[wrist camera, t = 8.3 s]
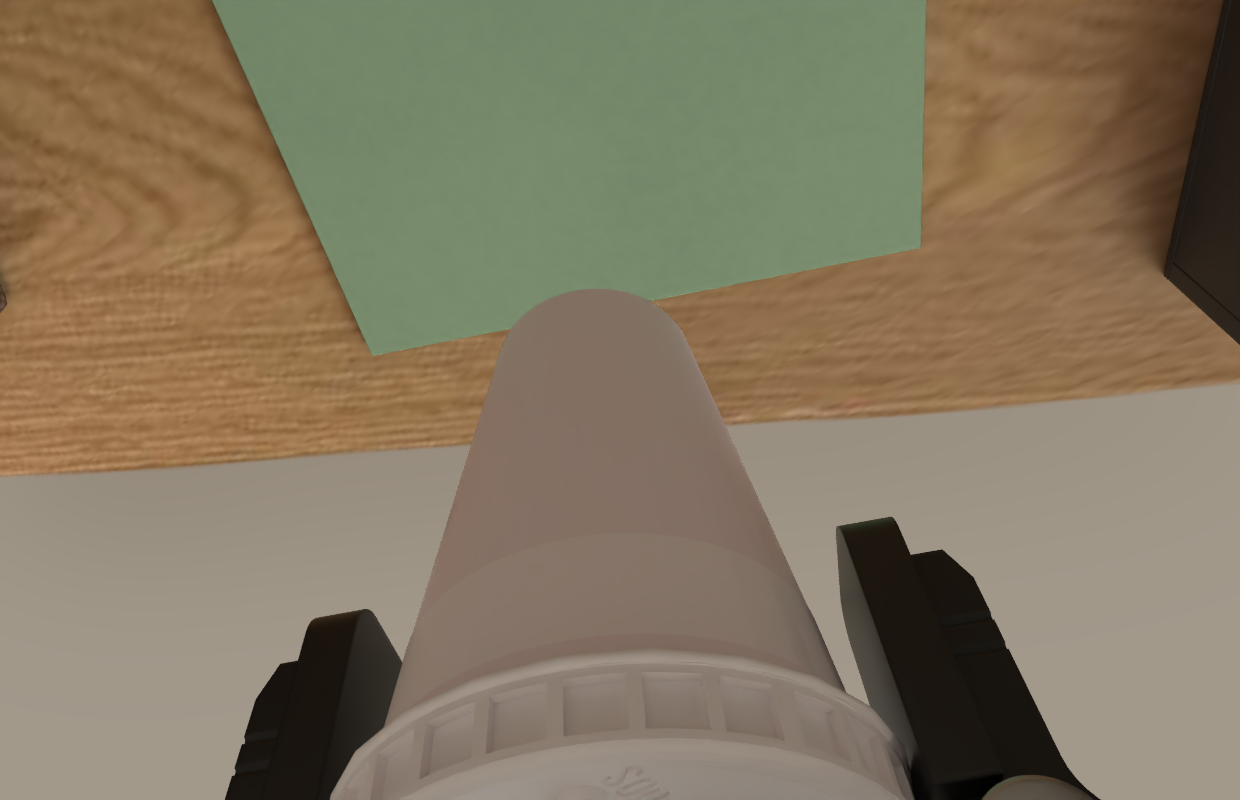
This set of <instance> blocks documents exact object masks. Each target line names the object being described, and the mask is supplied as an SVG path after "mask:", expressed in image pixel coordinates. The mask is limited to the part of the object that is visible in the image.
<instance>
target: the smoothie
mask: <svg viewBox="0 0 1240 800" xmlns="http://www.w3.org/2000/svg"><path fill="white" fill-rule="evenodd" d="M330 800H915V798H914V795H913V792H912V776H911V771H910V767H909V762H908V758H907V754H906V750H905V746H904V745H903V743H902V742H901V741H900V740H899V739H898V738H897V736H896V735H895V734H894V733H893V732H892V731H891V729H890V728H889V727H888V726H887V725H886V724H885V722H884V721H883V720H882V719H881V718H880V717H879V715H878V714H877V713H876V712H875V711H874V710H873V708H872V707H870V706H869V705H867V704H865V703H863V702H862V701H860V700H858V699H856V698H854V697H853V696H851V695H849V694H848V693H846V691H845V689H844V686H843V684H842V682H841V679H840V677H839V675H838V673H837V670H836V668H835V665H834V663H833V661H832V659H831V656H830V654H829V652H828V649H827V647H826V645H825V642H824V640H823V638H822V635H821V633H820V631H819V628H818V626H817V624H816V621H815V619H814V617H813V615H812V613H811V611H810V610H809V608H808V606H807V604H806V602H805V600H804V598H803V595H802V593H801V591H800V589H799V587H798V584H797V582H796V580H795V578H794V576H793V573H792V571H791V569H790V567H789V565H788V562H787V560H786V558H785V556H784V554H783V552H782V549H781V547H780V545H779V543H778V541H777V538H776V536H775V534H774V532H773V529H772V527H771V525H770V523H769V521H768V518H767V516H766V514H765V512H764V510H763V507H762V505H761V503H760V501H759V499H758V496H757V494H756V492H755V490H754V488H753V485H752V483H751V481H750V479H749V477H748V475H747V472H746V470H745V468H744V466H743V463H742V462H741V459H740V457H739V455H738V452H737V450H736V448H735V446H734V444H733V441H732V439H731V437H730V435H729V433H728V430H727V428H726V426H725V424H724V422H723V419H722V417H721V415H720V413H719V411H718V408H717V406H716V404H715V402H714V400H713V397H712V395H711V393H710V391H709V389H708V386H707V384H706V382H705V380H704V378H703V375H702V373H701V371H700V369H699V367H698V364H697V362H696V360H695V358H694V356H693V353H692V351H691V349H690V347H689V345H688V342H687V340H686V338H685V336H684V334H683V332H682V331H681V329H680V328H679V326H678V325H677V324H676V322H675V321H674V320H673V319H672V318H671V317H670V316H669V315H668V314H667V313H666V312H665V311H663V310H662V309H661V308H660V307H658V306H656V305H655V304H653V303H652V302H650V301H648V300H646V299H644V298H642V297H639V296H636V295H634V294H630V293H627V292H623V291H618V290H612V289H582V290H576V291H571V292H567V293H563V294H560V295H557V296H554V297H552V298H550V299H548V300H545V301H544V302H542V303H540V304H538V305H537V306H535V307H534V308H532V309H531V310H529V311H528V312H527V313H526V314H525V315H523V316H522V317H521V318H520V319H519V320H518V321H517V322H516V324H515V325H514V326H513V327H512V329H511V330H510V332H509V333H508V335H507V336H506V338H505V341H504V343H503V345H502V348H501V351H500V354H499V357H498V360H497V363H496V367H495V370H494V373H493V376H492V380H491V383H490V386H489V389H488V392H487V396H486V399H485V402H484V405H483V409H482V412H481V415H480V418H479V421H478V425H477V428H476V431H475V434H474V437H473V441H472V444H471V447H470V451H469V454H468V457H467V460H466V463H465V466H464V470H463V473H462V476H461V480H460V483H459V486H458V489H457V492H456V496H455V499H454V502H453V505H452V509H451V511H450V515H449V518H448V521H447V525H446V528H445V531H444V534H443V537H442V540H441V544H440V547H439V550H438V553H437V557H436V560H435V563H434V566H433V570H432V573H431V576H430V579H429V582H428V586H427V589H426V592H425V595H424V599H423V602H422V605H421V608H420V611H419V614H418V618H417V621H416V624H415V627H414V631H413V634H412V636H411V638H410V641H409V644H408V646H407V649H406V653H405V656H404V660H403V663H402V666H401V670H400V673H399V677H398V680H397V684H396V687H395V691H394V694H393V697H392V701H391V704H390V708H389V711H388V715H387V718H386V722H385V725H384V728H383V729H381V730H380V731H379V732H378V733H377V734H375V735H374V736H373V737H372V738H371V739H369V740H368V741H367V742H366V743H365V744H363V745H362V746H361V747H360V748H359V749H357V750H356V751H355V753H354V755H353V756H352V758H351V760H350V762H349V763H348V765H347V767H346V769H345V770H344V772H343V774H342V776H341V778H340V779H339V781H338V783H337V785H336V786H335V788H334V790H333V792H332V793H331V795H330Z"/></svg>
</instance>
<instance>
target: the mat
mask: <svg viewBox="0 0 1240 800" xmlns="http://www.w3.org/2000/svg"><path fill="white" fill-rule="evenodd" d="M212 2H213V4H214V7H215V9H216V11H217V13H218V16H219V18H220V20H221V22H222V24H223V27H224V29H225V31H226V33H227V35H228V38H229V40H230V42H231V44H232V47H233V49H234V51H235V53H236V55H237V58H238V60H239V62H240V64H241V67H242V69H243V71H244V73H245V75H246V78H247V80H248V82H249V84H250V87H251V89H252V91H253V93H254V95H255V98H256V100H257V102H258V104H259V107H260V109H261V111H262V113H263V115H264V118H265V120H266V122H267V124H268V126H269V129H270V131H271V133H272V135H273V138H274V140H275V142H276V144H277V146H278V149H279V151H280V153H281V155H282V158H283V160H284V162H285V164H286V166H287V169H288V171H289V173H290V175H291V178H292V180H293V182H294V184H295V186H296V189H297V191H298V193H299V195H300V197H301V200H302V202H303V204H304V206H305V209H306V211H307V213H308V215H309V217H310V220H311V222H312V224H313V226H314V229H315V231H316V233H317V235H318V237H319V240H320V242H321V244H322V246H323V249H324V251H325V253H326V255H327V257H328V260H329V262H330V264H331V266H332V269H333V271H334V273H335V275H336V277H337V280H338V282H339V284H340V286H341V288H342V291H343V293H344V295H345V297H346V300H347V302H348V304H349V306H350V308H351V311H352V313H353V315H354V317H355V320H356V322H357V324H358V326H359V328H360V331H361V333H362V335H363V337H364V340H365V342H366V344H367V346H368V348H369V351H370V353H371V355H372V356H374V355H379V354H384V353H389V352H395V351H400V350H405V349H410V348H415V347H420V346H425V345H430V344H435V343H440V342H445V341H450V340H455V339H460V338H466V337H471V336H476V335H481V334H486V333H491V332H496V331H501V330H506V329H511V328H512V327H513V326H514V325H515V324H516V322H517V321H518V320H519V319H520V318H521V317H522V316H523V315H525V314H526V313H527V312H528V311H529V310H531V309H532V308H534V307H535V306H537V305H538V304H540V303H542V302H544V301H545V300H548V299H550V298H552V297H554V296H557V295H560V294H563V293H567V292H571V291H576V290H582V289H612V290H618V291H623V292H627V293H630V294H634V295H636V296H639V297H642V298H644V299H646V300H648V301H653V300H658V299H663V298H668V297H673V296H679V295H684V294H689V293H694V292H699V291H704V290H709V289H714V288H719V287H724V286H729V285H734V284H739V283H744V282H750V281H755V280H760V279H765V278H770V277H775V276H780V275H785V274H790V273H795V272H800V271H805V270H810V269H815V268H821V267H826V266H831V265H836V264H841V263H846V262H851V261H856V260H861V259H866V258H871V257H876V256H881V255H886V254H892V253H897V252H902V251H907V250H912V249H917V248H920V247H921V209H922V165H923V121H924V77H925V33H926V0H212Z"/></svg>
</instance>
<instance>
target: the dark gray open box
mask: <svg viewBox="0 0 1240 800" xmlns="http://www.w3.org/2000/svg"><path fill="white" fill-rule="evenodd" d="M1164 276H1165V277H1166V278H1167V279H1168V280H1169V281H1170V282H1171V283H1173V284H1174V285H1175V286H1176V287H1177V288H1178V289H1179V290H1180V291H1181V292H1182V293H1184V294H1185V295H1186V296H1187V297H1188V298H1189V299H1190V300H1191V301H1192V302H1193V303H1194V304H1196V305H1197V306H1198V307H1199V308H1200V309H1201V310H1202V311H1203V312H1204V313H1205V314H1207V315H1208V316H1209V317H1210V318H1211V319H1212V320H1213V321H1214V322H1215V323H1216V324H1217V325H1219V326H1220V327H1221V328H1222V329H1223V330H1224V331H1225V332H1226V333H1227V334H1228V335H1230V336H1231V337H1232V338H1233V339H1234V340H1235V341H1236V342H1237V343H1238V344H1239V345H1240V0H1224V4H1223V8H1222V13H1221V18H1220V22H1219V27H1218V31H1217V36H1216V40H1215V45H1214V49H1213V54H1212V58H1211V63H1210V67H1209V72H1208V77H1207V81H1206V86H1205V90H1204V95H1203V99H1202V104H1201V108H1200V113H1199V117H1198V122H1197V127H1196V131H1195V136H1194V140H1193V145H1192V149H1191V154H1190V158H1189V163H1188V167H1187V172H1186V176H1185V181H1184V186H1183V190H1182V195H1181V199H1180V204H1179V208H1178V213H1177V217H1176V222H1175V226H1174V231H1173V236H1172V240H1171V245H1170V249H1169V254H1168V258H1167V263H1166V267H1165V272H1164Z"/></svg>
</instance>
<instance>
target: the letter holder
mask: <svg viewBox="0 0 1240 800" xmlns="http://www.w3.org/2000/svg"><path fill="white" fill-rule="evenodd" d="M6 305H7V301H6V296H5V294H4V293H3V292H2V288H1V285H0V313H1V311H2V310H3V309H4V308H5V307H6Z"/></svg>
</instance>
